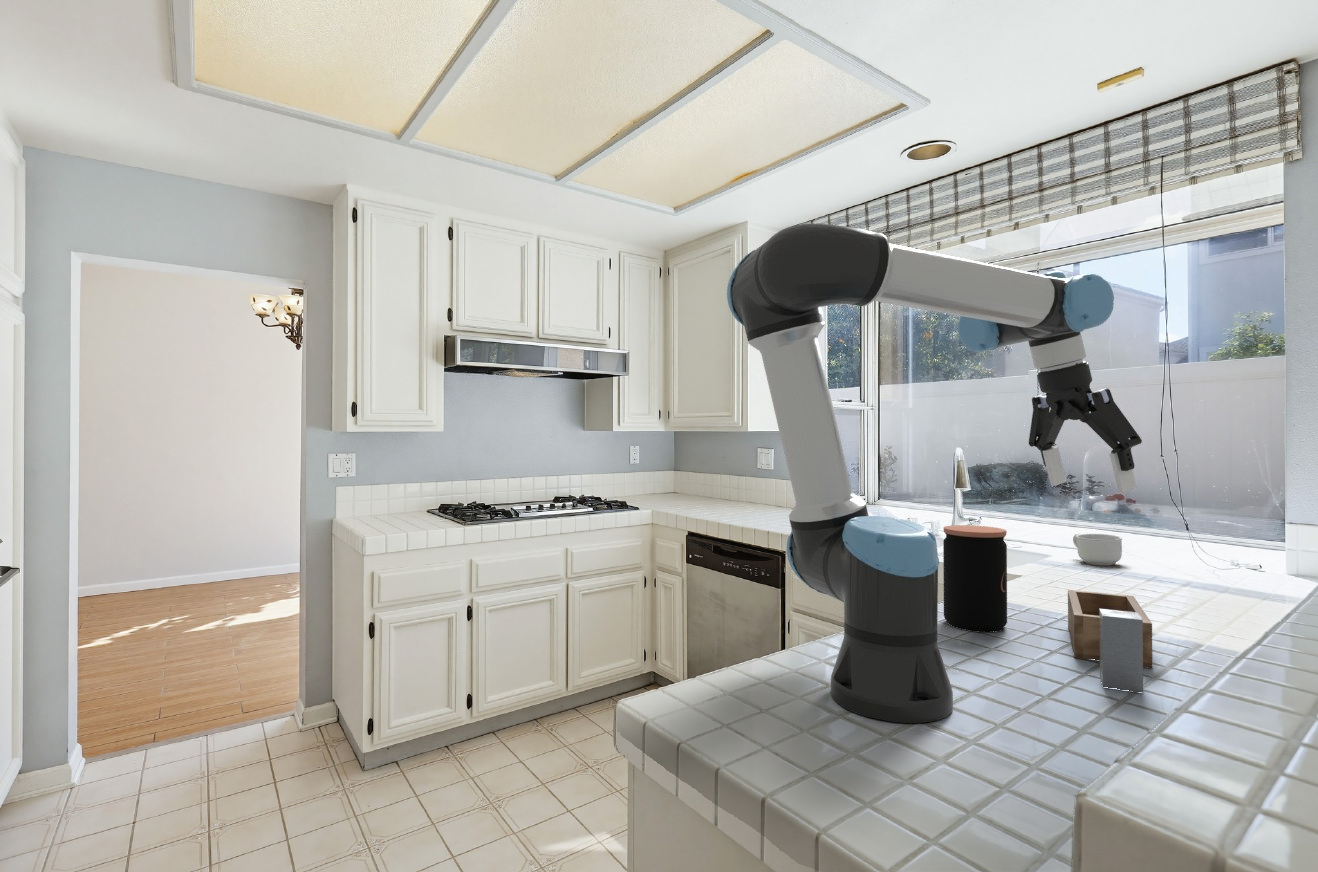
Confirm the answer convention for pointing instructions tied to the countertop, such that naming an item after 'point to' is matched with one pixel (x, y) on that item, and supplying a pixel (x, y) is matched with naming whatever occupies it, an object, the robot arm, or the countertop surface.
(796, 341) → the robot arm
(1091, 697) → the countertop surface
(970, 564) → the coffee jar
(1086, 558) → the teacup
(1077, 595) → the trough
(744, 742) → the countertop surface
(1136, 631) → the steel bar
